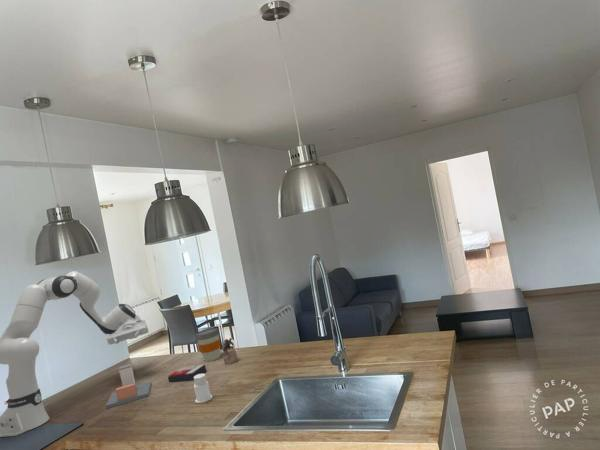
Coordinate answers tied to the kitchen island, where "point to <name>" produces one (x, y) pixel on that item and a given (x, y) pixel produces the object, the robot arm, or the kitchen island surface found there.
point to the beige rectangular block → (126, 375)
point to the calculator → (187, 373)
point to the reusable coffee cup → (209, 344)
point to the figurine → (229, 352)
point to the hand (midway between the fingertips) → (125, 339)
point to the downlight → (201, 389)
